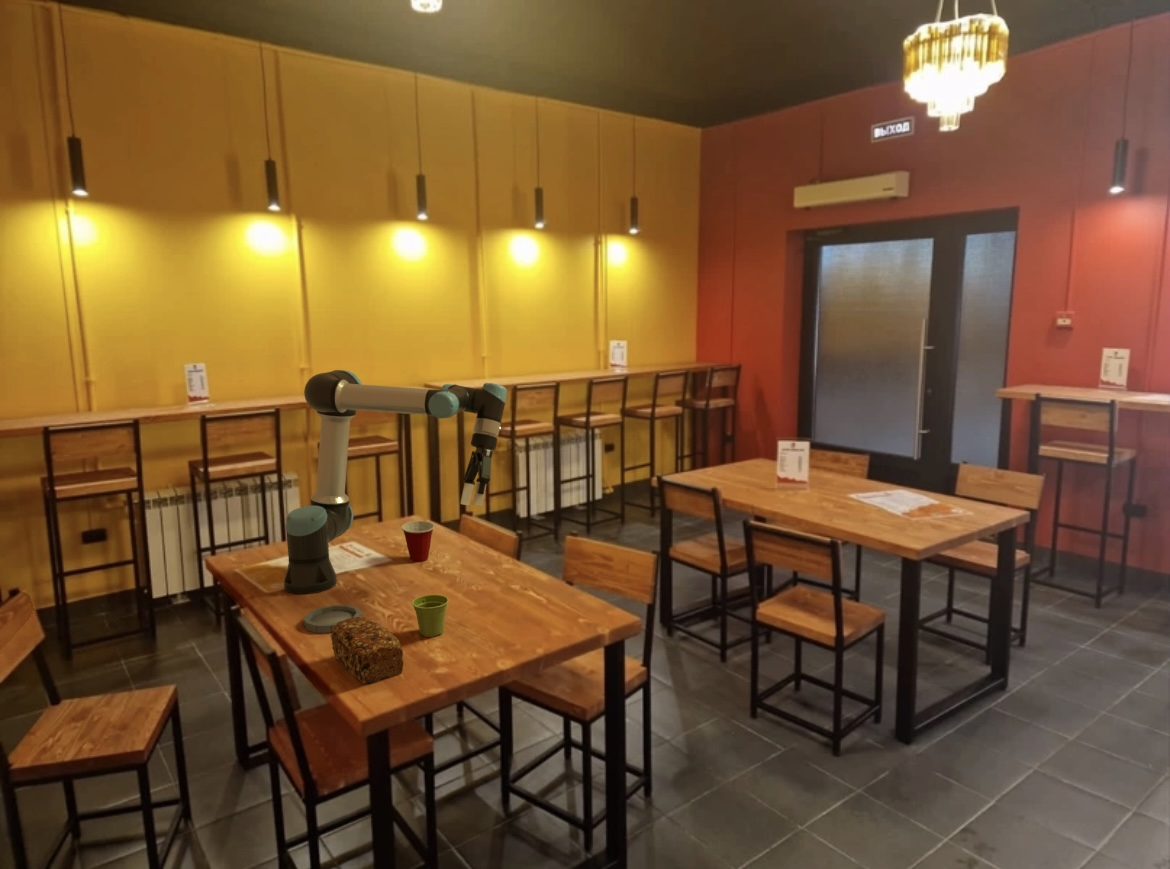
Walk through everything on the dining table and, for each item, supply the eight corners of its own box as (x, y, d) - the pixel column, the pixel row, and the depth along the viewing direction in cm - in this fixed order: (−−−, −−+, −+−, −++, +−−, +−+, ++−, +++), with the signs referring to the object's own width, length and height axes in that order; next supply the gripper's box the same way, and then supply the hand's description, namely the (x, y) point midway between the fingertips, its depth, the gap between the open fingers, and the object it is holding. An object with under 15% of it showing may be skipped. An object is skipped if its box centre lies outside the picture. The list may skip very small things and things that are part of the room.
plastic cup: (408, 567, 255) (407, 531, 253) (398, 557, 265) (397, 523, 263) (440, 561, 261) (439, 526, 259) (429, 552, 270) (428, 519, 268)
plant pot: (409, 640, 200) (408, 608, 198) (417, 625, 209) (415, 594, 207) (446, 640, 200) (445, 607, 198) (452, 625, 209) (451, 594, 208)
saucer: (296, 633, 204) (296, 625, 204) (315, 611, 219) (315, 604, 218) (351, 632, 204) (351, 625, 204) (367, 611, 218) (366, 604, 218)
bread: (331, 659, 190) (329, 620, 188) (373, 647, 196) (371, 609, 194) (362, 688, 175) (359, 646, 173) (406, 674, 182) (404, 633, 180)
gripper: (510, 435, 224) (495, 508, 221) (485, 440, 247) (471, 507, 243) (485, 429, 221) (469, 503, 218) (462, 435, 244) (448, 502, 241)
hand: (470, 505), depth 231 cm, fingers open, 13 cm apart
